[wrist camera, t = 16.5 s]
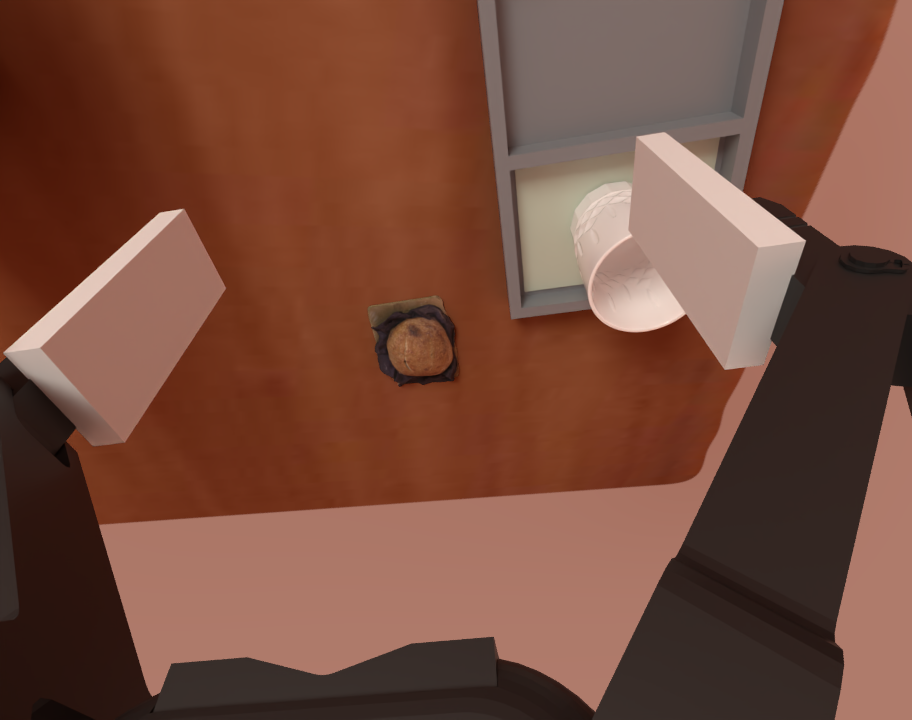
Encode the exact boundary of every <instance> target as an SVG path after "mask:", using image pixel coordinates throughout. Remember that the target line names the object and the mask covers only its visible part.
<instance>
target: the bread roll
mask: <svg viewBox="0 0 912 720" xmlns="http://www.w3.org/2000/svg"><path fill="white" fill-rule="evenodd" d="M368 315H369V320H370V323H371V326H372V327H371V328H372V330H373V333H374V337H375V340H376V343H377V344H376V346H375V352H376V353H377V355H378V362H379V366H380V370H381V371H382V372H383V373H384V374H386V375H388V376H390V377H392V378H393V379H394V382H395V381H396V382H398V384H399V385H398V386H399V387H400V386H402V385H403V384H409V383H420V384H422V385H424V384H428V383H431V382H446V381H454V377H457V376H458V375H459V374H458V373H459V363H458V357H457V349H456V346H455V341H454V340H455V339H454V337H455V330H454V325H453V323H452V322H451V321H450V318H449V316H448V315H447V313H446V311H445V308H444V306H443V300H442V299H441V298H440V297H439V296H430V297H426V298H419V299H412V300H405V301H399V302H392V303H386V304H380V305H373V306H370V307H368Z"/></svg>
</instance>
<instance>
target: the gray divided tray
mask: <svg viewBox="0 0 912 720" xmlns="http://www.w3.org/2000/svg"><path fill="white" fill-rule="evenodd" d="M783 2H784V0H477V8H478V18H479V27H480V36H481V46H482V55H483V65H484V74H485V84H486V93H487V103H488V112H489V122H490V131H491V140H492V150H493V159H494V169H495V178H496V188H497V197H498V207H499V216H500V226H501V235H502V244H503V254H504V263H505V273H506V282H507V292H508V301H509V308H510V315H511V319H517V318H525V317H533V316H541V315H548V314H556V313H564V312H572V311H580V310H587V309H591V306H590V303H589V300H588V297H587V293H586V290H585V287H584V284H583V281H582V277H581V274H580V271H579V266H578V263H577V259H576V255H575V251H574V243H573V239H572V235H571V230H570V226H571V222H572V218H573V214H574V210H575V209H576V208H577V206H578V205H579V204H580V202H581V201H582V200H583V199H584V197H585V196H586V195H587V194H588V193H590V192H591V191H593V190H595V189H597V188H598V187H600V186H602V185H603V184H605V183H613V182H620V181H627V182H629V183H632V182H633V170H634V158H635V147H636V137H637V136H644V135H650V134H656V133H662V132H665V133H667V134H668V135H669V136H671V137H672V138H673V139H674V140H676V141H677V142H678V143H680V144H681V145H682V146H684V147H685V148H686V149H687V150H689V151H690V152H691V153H693V154H694V155H695V156H697V157H698V158H699V159H700V160H702V161H703V162H704V163H706V164H707V165H708V166H709V167H711V168H712V169H713V170H715V171H716V172H717V173H719V174H720V175H721V176H722V177H724V178H725V179H726V180H728V181H729V182H730V183H731V184H733V185H734V186H735V187H737V188H738V189H739V190H741V191H742V192H743V188H744V183H745V178H746V174H747V169H748V165H749V160H750V155H751V151H752V146H753V141H754V137H755V132H756V128H757V123H758V118H759V114H760V109H761V104H762V100H763V95H764V90H765V86H766V81H767V77H768V72H769V67H770V63H771V58H772V53H773V49H774V44H775V40H776V35H777V30H778V26H779V21H780V16H781V12H782V7H783Z"/></svg>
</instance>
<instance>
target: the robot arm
mask: <svg viewBox="0 0 912 720" xmlns="http://www.w3.org/2000/svg"><path fill="white" fill-rule="evenodd" d="M628 230H629V232H630V233H631V235H632V236H633V238H634V239H635V240H636V242H637V243H638V245H639V246H640V248H641V249H642V251H643V252H644V254H645V255H646V256H647V258H648V259H649V261H650V262H651V264H652V265H653V267H654V268H655V269H656V271H657V272H658V274H659V275H660V277H661V278H662V280H663V281H664V282H665V284H666V285H667V287H668V288H669V290H670V291H671V293H672V294H673V296H674V297H675V298H676V300H677V301H678V303H679V304H680V306H681V307H682V309H683V310H684V311H685V313H686V314H687V316H688V317H689V319H690V320H691V322H692V323H693V324H694V326H695V327H696V329H697V330H698V332H699V333H700V335H701V336H702V338H703V339H704V340H705V342H706V343H707V345H708V346H709V348H710V349H711V351H712V352H713V353H714V355H715V356H716V358H717V359H718V361H719V362H720V364H721V365H722V367H723V368H724V369H725V370H726V369H734V368H743V367H751V366H759V365H764V362H765V359H766V356H767V353H768V350H769V347H770V344H771V342H772V341H773V343H774V344H775V345H776V346H777V347H776V349H775V352H774V354H773V356H772V358H771V360H770V362H769V364H768V366H767V368H766V371H765V372H764V375H763V377H762V379H761V381H760V383H759V385H758V387H757V389H756V391H755V393H754V396H753V398H752V400H751V402H750V404H749V406H748V408H747V410H746V413H745V414H744V417H743V419H742V421H741V423H740V425H739V427H738V429H737V431H736V433H735V435H734V438H733V440H732V442H731V444H730V446H729V448H728V450H727V452H726V454H725V456H724V459H723V461H722V463H721V465H720V467H719V469H718V471H717V473H716V476H715V477H714V480H713V482H712V484H711V486H710V488H709V490H708V492H707V494H706V496H705V498H704V500H703V502H702V505H701V507H700V509H699V511H698V513H697V516H696V517H695V519H694V521H693V524H692V526H691V528H690V530H689V532H688V534H687V536H686V538H685V541H684V542H683V544H682V547H681V548H680V550H679V552H678V554H677V556H676V557H675V558H672V559H671V561H670V562H669V564H668V565H667V567H666V569H665V571H664V573H663V575H662V577H661V579H660V580H659V582H658V584H657V587H656V588H655V591H654V593H653V595H652V597H651V599H650V601H649V603H648V605H647V607H646V609H645V611H644V613H643V615H642V617H641V620H640V622H639V624H638V626H637V628H636V630H635V632H634V634H633V636H632V638H631V640H630V642H629V644H628V646H627V648H626V650H625V653H624V655H623V657H622V659H621V661H620V663H619V665H618V667H617V669H616V671H615V673H614V675H613V677H612V679H611V681H610V683H609V686H608V687H607V690H606V692H605V694H604V696H603V698H602V700H601V702H600V704H599V706H598V708H597V710H596V712H595V711H594V710H592V709H591V708H590V707H589V706H588V705H587V704H586V703H585V702H584V701H583V700H582V699H580V698H579V697H578V696H577V695H576V694H574V693H573V692H571V691H570V690H569V689H567V688H566V687H565V686H563V685H562V684H560V683H559V682H557V681H556V680H554V679H552V678H550V677H548V676H546V675H544V674H543V673H541V672H539V671H537V670H534V669H531V668H529V667H526V666H524V665H521V664H519V663H515V662H510V661H506V660H502V659H499V657H498V653H497V649H496V645H495V640H494V637H486V638H474V639H462V640H450V641H438V642H426V643H415V644H409V645H407V646H404V647H402V648H399V649H396V650H394V651H391V652H388V653H386V654H383V655H380V656H378V657H375V658H372V659H370V660H367V661H364V662H362V663H359V664H356V665H354V666H351V667H348V668H346V669H343V670H340V671H338V672H335V673H332V674H329V675H316V674H311V673H307V672H304V671H300V670H295V669H291V668H288V667H284V666H280V665H275V664H271V663H268V662H264V661H259V660H255V659H251V658H247V657H246V658H234V659H223V660H211V661H199V662H187V663H174V664H171V666H170V669H169V671H168V674H167V677H166V679H165V682H164V685H163V687H162V690H161V692H160V693H159V694H157V695H155V696H153V697H152V696H151V695H150V693H149V691H148V688H147V686H146V683H145V680H144V677H143V673H142V670H141V666H140V663H139V660H138V656H137V653H136V650H135V646H134V643H133V639H132V636H131V632H130V629H129V626H128V622H127V619H126V616H125V612H124V609H123V605H122V602H121V599H120V595H119V592H118V589H117V585H116V582H115V578H114V575H113V572H112V568H111V565H110V562H109V558H108V555H107V551H106V548H105V545H104V541H103V538H102V535H101V531H100V528H99V524H98V521H97V518H96V514H95V511H94V508H93V504H92V501H91V497H90V494H89V491H88V487H87V484H86V480H85V477H84V474H83V470H82V467H81V464H80V460H79V457H78V453H77V452H76V451H75V450H74V449H73V448H72V447H71V446H70V445H69V444H68V443H67V442H66V440H67V439H68V438H69V436H70V435H71V434H72V433H73V431H74V430H75V429H77V430H78V431H79V432H80V433H81V434H82V435H83V436H84V437H85V438H86V440H87V441H88V442H89V443H90V444H91V445H92V446H101V445H109V444H117V443H125V441H126V440H127V438H128V437H129V435H130V434H131V432H132V431H133V429H134V428H135V426H136V425H137V423H138V422H139V420H140V419H141V417H142V416H143V414H144V413H145V411H146V410H147V408H148V406H149V405H150V403H151V402H152V400H153V399H154V397H155V396H156V394H157V393H158V391H159V390H160V388H161V387H162V385H163V384H164V382H165V381H166V379H167V378H168V376H169V375H170V373H171V372H172V370H173V368H174V367H175V365H176V364H177V362H178V361H179V359H180V358H181V356H182V355H183V353H184V352H185V350H186V349H187V347H188V346H189V344H190V343H191V341H192V340H193V338H194V337H195V335H196V333H197V332H198V330H199V329H200V327H201V326H202V324H203V323H204V321H205V320H206V318H207V317H208V315H209V314H210V312H211V311H212V309H213V308H214V306H215V305H216V303H217V302H218V300H219V298H220V297H221V295H222V294H223V292H224V291H225V289H226V287H225V285H224V283H223V282H222V280H221V278H220V276H219V274H218V272H217V270H216V268H215V266H214V264H213V263H212V261H211V259H210V257H209V255H208V253H207V251H206V249H205V247H204V245H203V244H202V242H201V240H200V238H199V236H198V234H197V232H196V230H195V228H194V226H193V225H192V223H191V221H190V219H189V217H188V215H187V213H186V211H185V209H180V210H173V211H167V212H161V213H159V214H158V215H157V216H156V217H154V218H153V219H152V220H151V221H150V222H149V223H148V224H147V225H145V226H144V227H143V228H142V229H141V230H140V231H139V232H138V233H137V234H135V235H134V236H133V237H132V238H131V239H130V240H129V241H128V242H126V243H125V244H124V245H123V246H122V247H121V248H120V249H119V250H118V251H116V252H115V253H114V254H113V255H112V256H111V257H110V258H109V259H107V260H106V261H105V262H104V263H103V264H102V265H101V266H100V267H99V268H97V269H96V270H95V271H94V272H93V273H92V274H91V275H90V276H88V277H87V278H86V279H85V280H84V281H83V282H82V283H81V284H80V285H78V286H77V287H76V288H75V289H74V290H73V291H72V292H71V293H70V294H68V295H67V296H66V297H65V298H64V299H63V300H62V301H61V302H59V303H58V304H57V305H56V306H55V307H54V308H53V309H52V310H51V311H49V312H48V313H47V314H46V315H45V316H44V317H43V318H42V319H40V320H39V321H38V322H37V323H36V324H35V325H34V326H33V327H32V328H30V329H29V330H28V331H27V332H26V333H25V334H24V335H23V336H21V337H20V338H19V339H18V340H17V341H16V342H15V343H14V344H13V345H11V346H10V347H9V348H8V349H7V350H6V351H5V352H4V353H3V354H4V355H5V356H6V358H5V359H4V360H3V361H2V362H1V363H0V720H835V715H836V710H837V705H838V700H839V695H840V690H841V683H842V676H843V669H844V660H843V659H844V658H843V650H842V649H841V648H840V647H839V646H838V645H837V644H836V643H835V635H834V634H835V628H836V622H837V617H838V613H839V608H840V604H841V600H842V596H843V591H844V587H845V583H846V578H847V574H848V570H849V565H850V561H851V556H852V552H853V547H854V543H855V539H856V534H857V530H858V526H859V522H860V517H861V513H862V509H863V504H864V500H865V495H866V491H867V487H868V482H869V478H870V474H871V469H872V465H873V461H874V456H875V452H876V448H877V443H878V439H879V435H880V430H881V426H882V421H883V417H884V413H885V408H886V404H887V399H888V395H889V391H890V387H891V385H894V386H903V387H904V391H905V394H906V398H907V402H908V405H909V409H910V412H911V416H912V262H911V261H909V260H908V259H907V258H906V257H904V256H901V255H899V254H897V253H894V252H892V251H889V250H885V249H880V248H876V247H869V246H856V245H853V246H838V245H837V244H836V243H834V242H833V241H831V240H830V239H829V238H827V237H826V236H824V235H823V234H822V233H820V232H819V231H817V230H816V229H815V228H813V227H812V226H807V223H806V222H805V221H803V220H802V219H801V218H799V217H796V215H795V214H794V213H792V212H791V211H790V210H788V209H787V208H786V207H784V206H783V205H781V204H778V203H775V202H772V201H769V200H766V199H764V198H761V197H758V198H752V199H751V198H750V197H748V196H747V195H746V194H744V193H743V192H742V191H741V190H739V189H738V188H737V187H735V186H734V185H733V184H731V183H730V182H729V181H728V180H726V179H725V178H724V177H722V176H721V175H720V174H719V173H717V172H716V171H715V170H713V169H712V168H711V167H709V166H708V165H707V164H706V163H704V162H703V161H702V160H700V159H699V158H698V157H697V156H695V155H694V154H693V153H691V152H690V151H689V150H687V149H686V148H685V147H684V146H682V145H681V144H680V143H678V142H677V141H676V140H674V139H673V138H672V137H671V136H669V135H668V134H667V133H665V132H662V133H656V134H650V135H644V136H637V137H636V147H635V158H634V170H633V182H632V193H631V205H630V216H629V228H628Z"/></svg>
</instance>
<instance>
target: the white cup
mask: <svg viewBox="0 0 912 720" xmlns="http://www.w3.org/2000/svg"><path fill="white" fill-rule="evenodd" d="M631 193H632V183H629V182H627V181H620V182H613V183H605V184H603V185H602V186H600V187H598V188H597V189H595V190H593V191H591V192H590V193H588V194H587V195H586V196H585V197H584V199H583V200H582V201H581V202H580V204H579V205H578V206H577V208H576V209H575V210H574V214H573V218H572V222H571V226H570V230H571V235H572V239H573V243H574V251H575V255H576V259H577V263H578V266H579V271H580V274H581V277H582V281H583V284H584V287H585V290H586V293H587V297H588V300H589V303H590V306H591V309H592V311H593V312H594V314H595V315H596V316H597V318H598V319H599V320H601V321H602V322H603V323H604V324H606V325H608V326H609V327H611V328H614V329H617V330H620V331H625V332H646V331H651V330H655V329H659V328H661V327H664V326H667V325H669V324H671V323H673V322H675V321H676V320H678V319H680V318H681V317H683V316H684V315H685V314H686V313H685V311H684V310H683V309H682V307H681V306H680V304H679V303H678V301H677V300H676V298H675V297H674V296H673V294H672V293H671V291H670V290H669V288H668V287H667V285H666V284H665V282H664V281H663V280H662V278H661V277H660V275H659V274H658V272H657V271H656V269H655V268H654V267H653V265H652V264H651V262H650V261H649V259H648V258H647V256H646V255H645V254H644V252H643V251H642V249H641V248H640V246H639V245H638V243H637V242H636V240H635V239H634V238H633V236H632V235H631V233H630V232H629V230H628V228H629V216H630V205H631Z"/></svg>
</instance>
